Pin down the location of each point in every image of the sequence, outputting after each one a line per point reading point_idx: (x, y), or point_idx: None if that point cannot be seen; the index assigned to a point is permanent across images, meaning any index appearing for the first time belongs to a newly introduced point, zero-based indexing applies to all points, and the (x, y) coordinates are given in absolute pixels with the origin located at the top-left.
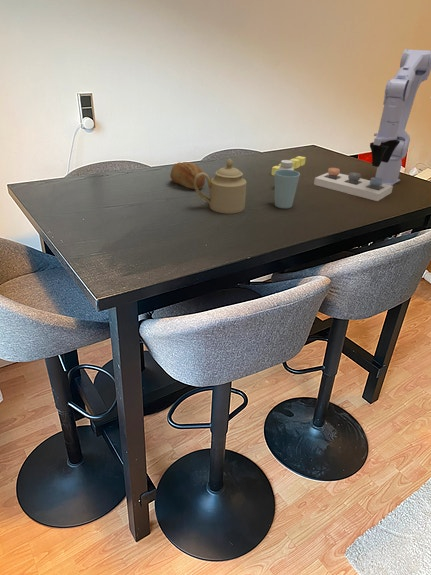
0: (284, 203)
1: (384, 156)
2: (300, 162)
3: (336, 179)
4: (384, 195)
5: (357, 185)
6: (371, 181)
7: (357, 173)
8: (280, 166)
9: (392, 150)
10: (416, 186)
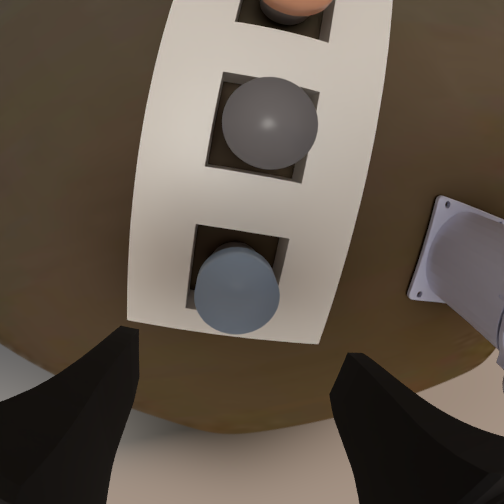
0: None
1: (360, 401)
2: None
3: (288, 20)
4: None
5: (196, 173)
6: (203, 268)
7: (298, 137)
8: None
9: (359, 494)
10: (435, 364)
